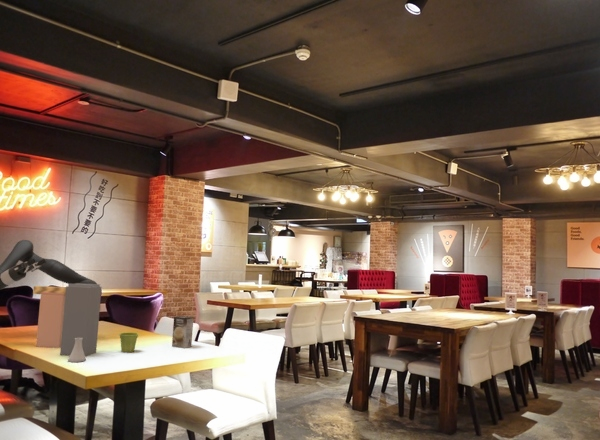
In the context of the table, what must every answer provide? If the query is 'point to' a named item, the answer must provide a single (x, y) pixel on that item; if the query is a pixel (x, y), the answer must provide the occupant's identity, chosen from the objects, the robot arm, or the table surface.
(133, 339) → the plant pot
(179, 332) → the coffee box
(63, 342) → the grey stand
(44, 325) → the block
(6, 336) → the table surface
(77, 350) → the flask
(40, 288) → the wooden pin
